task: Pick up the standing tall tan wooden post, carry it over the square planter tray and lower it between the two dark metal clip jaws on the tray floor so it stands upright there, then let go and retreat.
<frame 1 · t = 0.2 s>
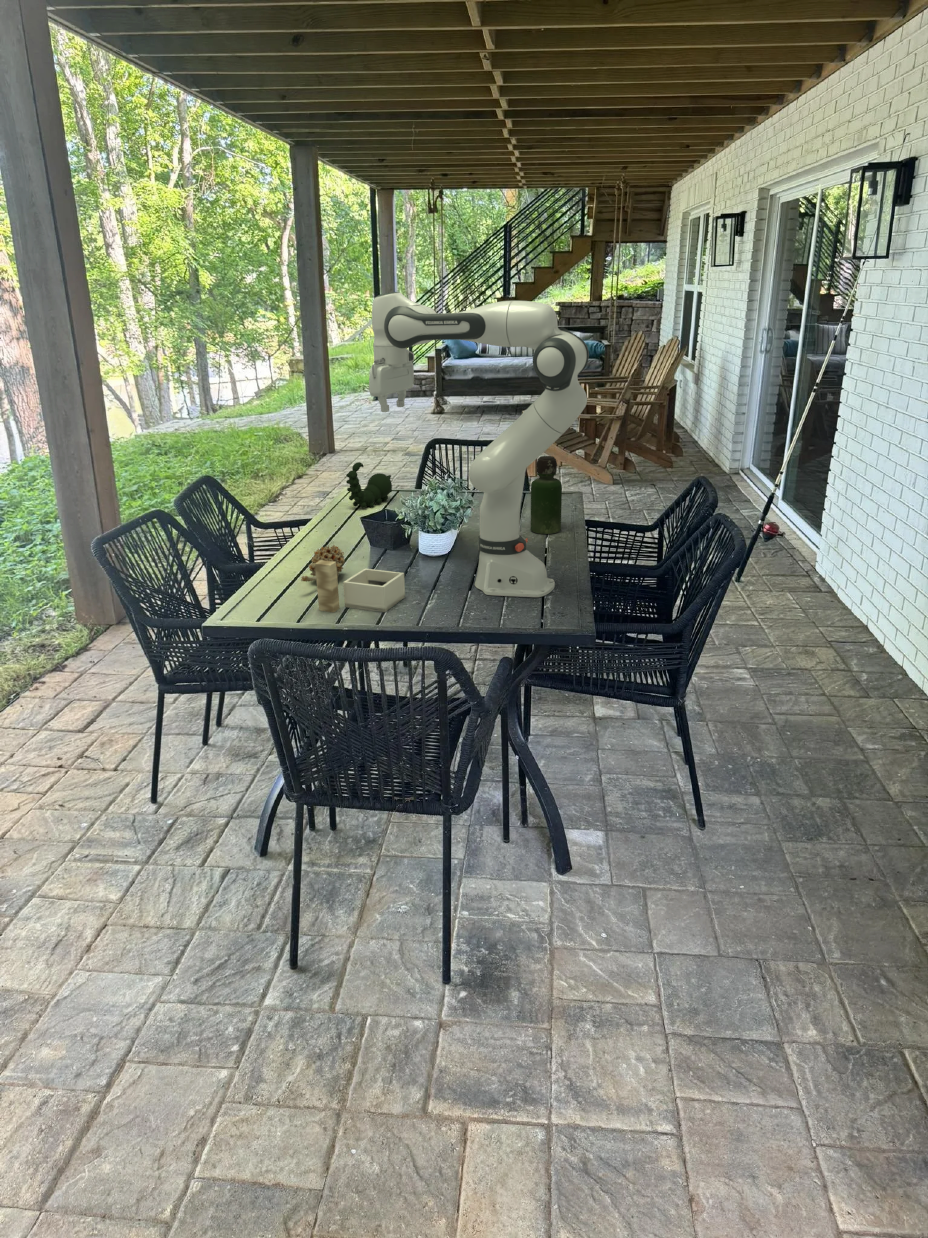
hand: (393, 409, 236), 48 cm above the table, tool pointing down, fingers open, 8 cm apart
square planter tray: (375, 602, 232), on the table
tall tan wooden post: (329, 609, 228), on the table
clip: (374, 591, 231), in the square planter tray, point 3 cm above the table
green bottle: (545, 531, 294), on the table
toy figurine: (372, 505, 332), on the table
pine cone: (323, 585, 247), on the table
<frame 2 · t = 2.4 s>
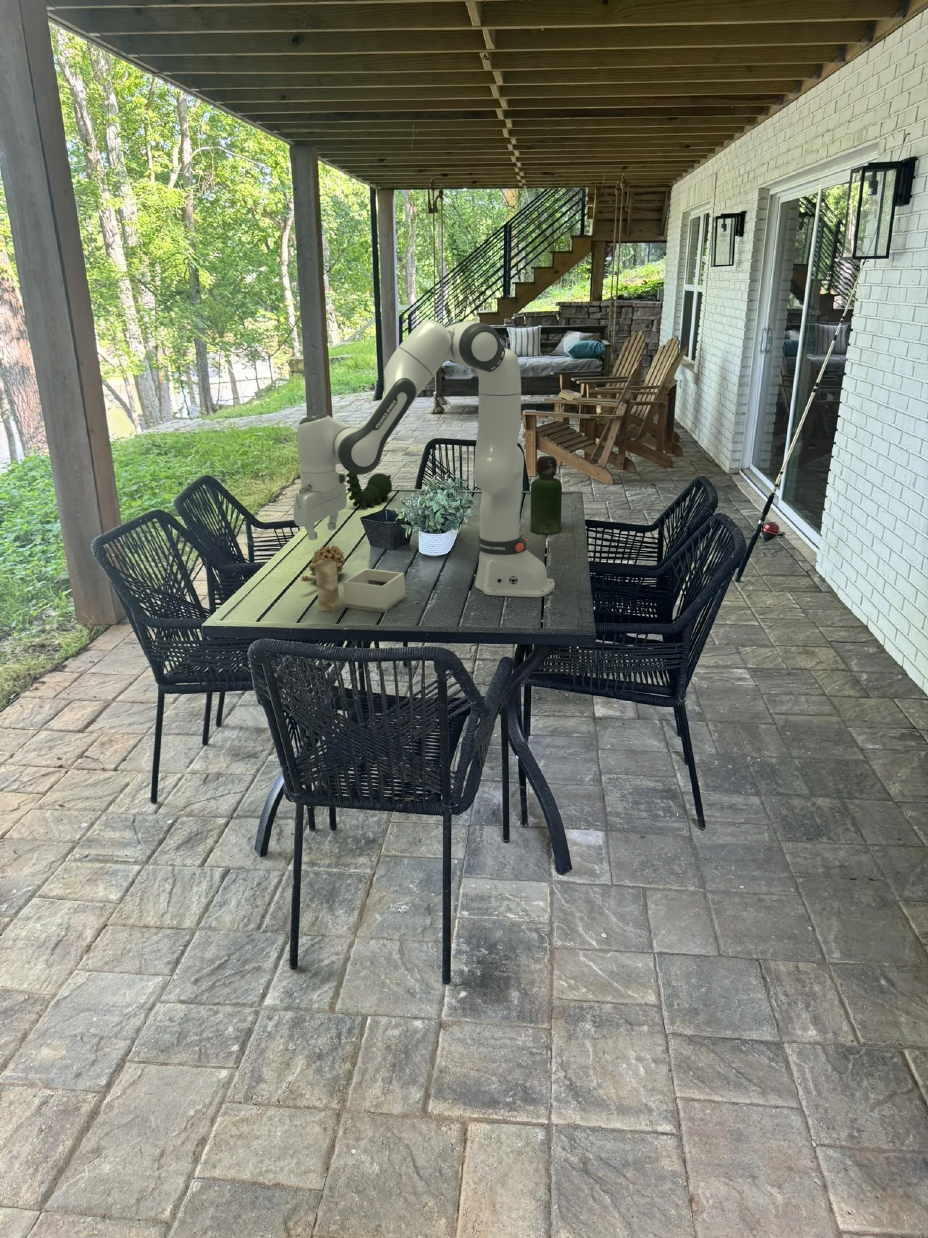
hand: (322, 534, 220), 21 cm above the table, tool pointing down, fingers open, 8 cm apart
nothing on the table moved.
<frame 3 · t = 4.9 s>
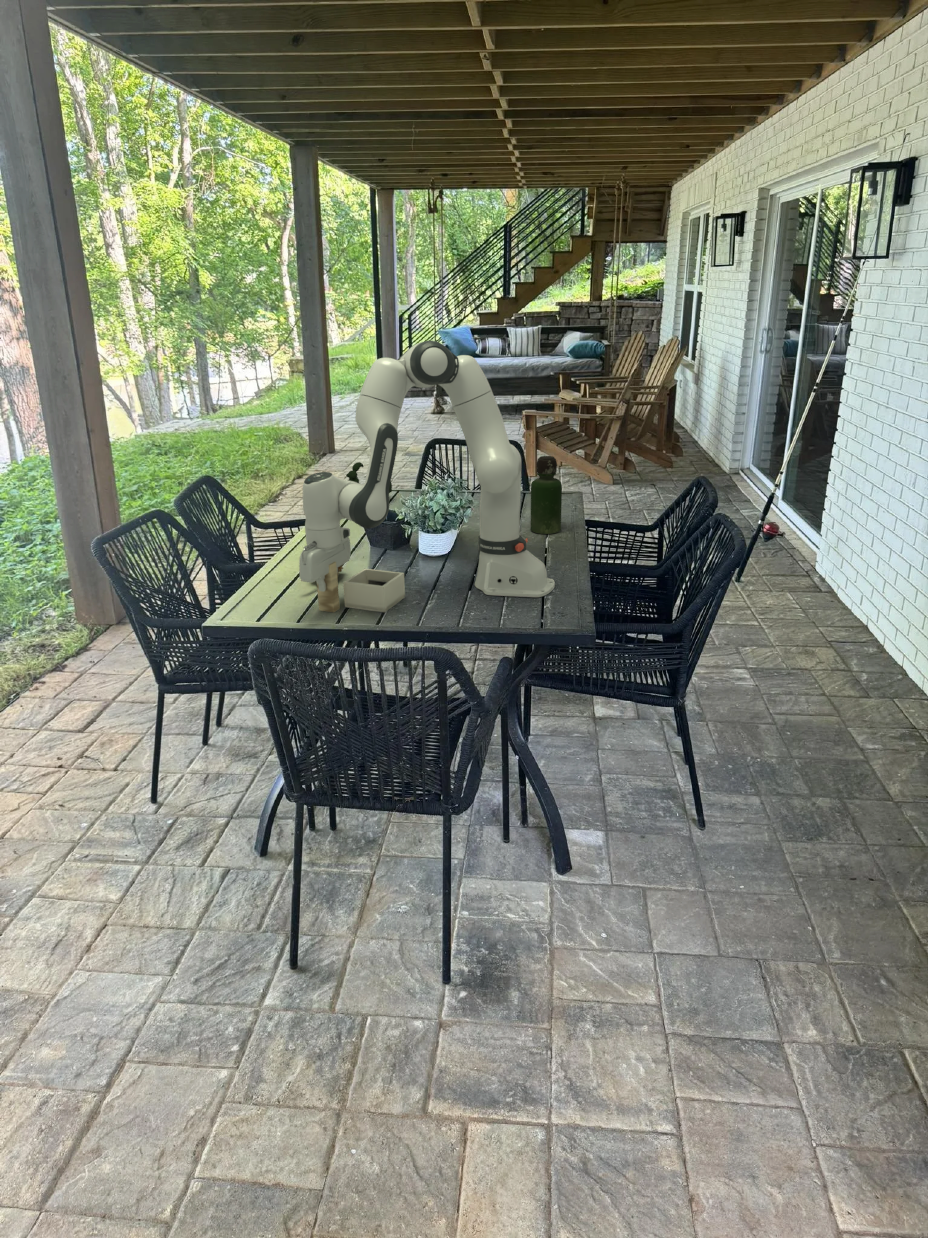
hand: (327, 587, 226), 6 cm above the table, tool pointing down, fingers closed on tall tan wooden post, 3 cm apart
tall tan wooden post: (329, 609, 228), on the table, touching gripper
everything else where it was.
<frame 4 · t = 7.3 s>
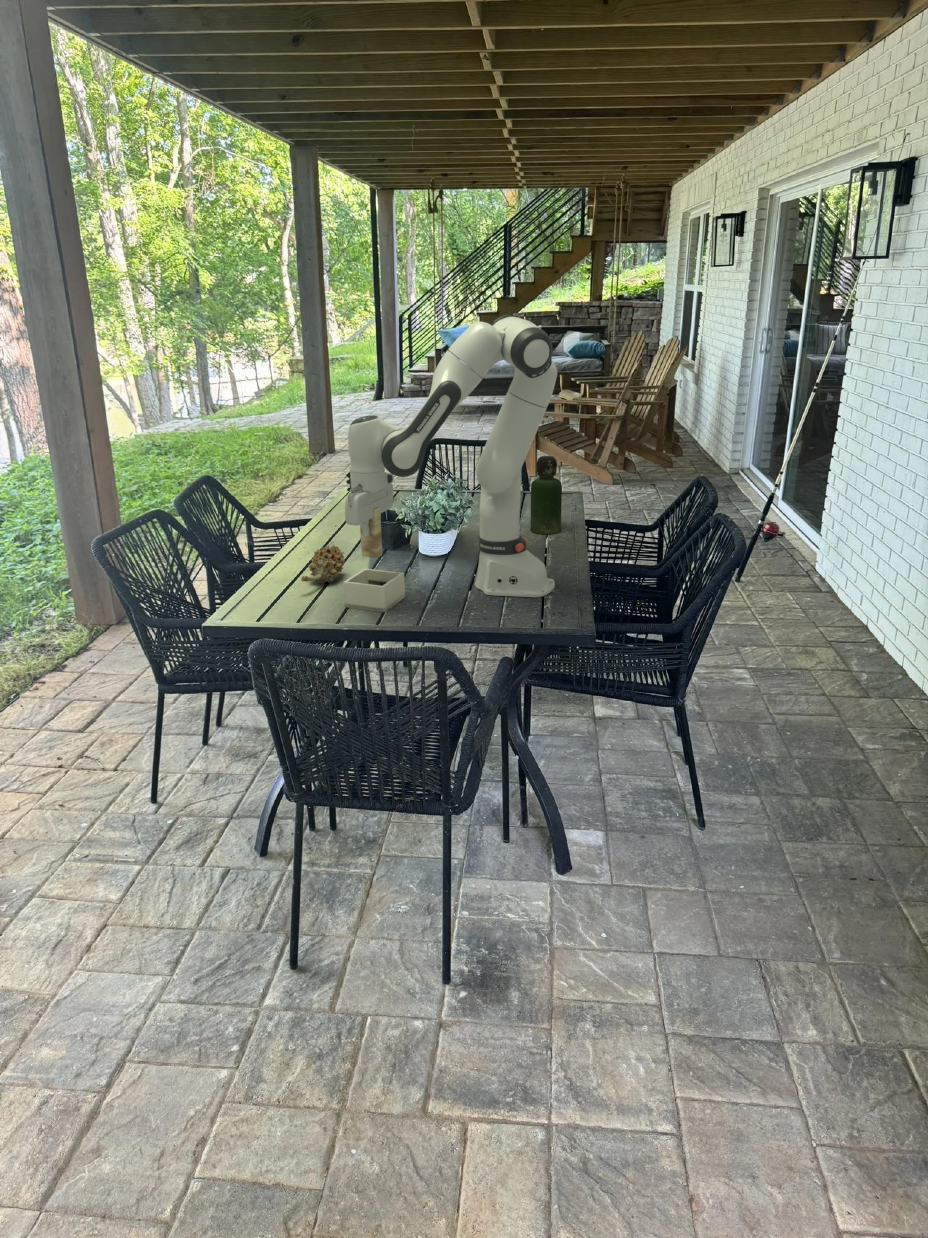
hand: (371, 533, 225), 19 cm above the table, tool pointing down, fingers closed on tall tan wooden post, 3 cm apart
tall tan wooden post: (372, 555, 228), point 13 cm above the table, touching gripper
everything else where it was.
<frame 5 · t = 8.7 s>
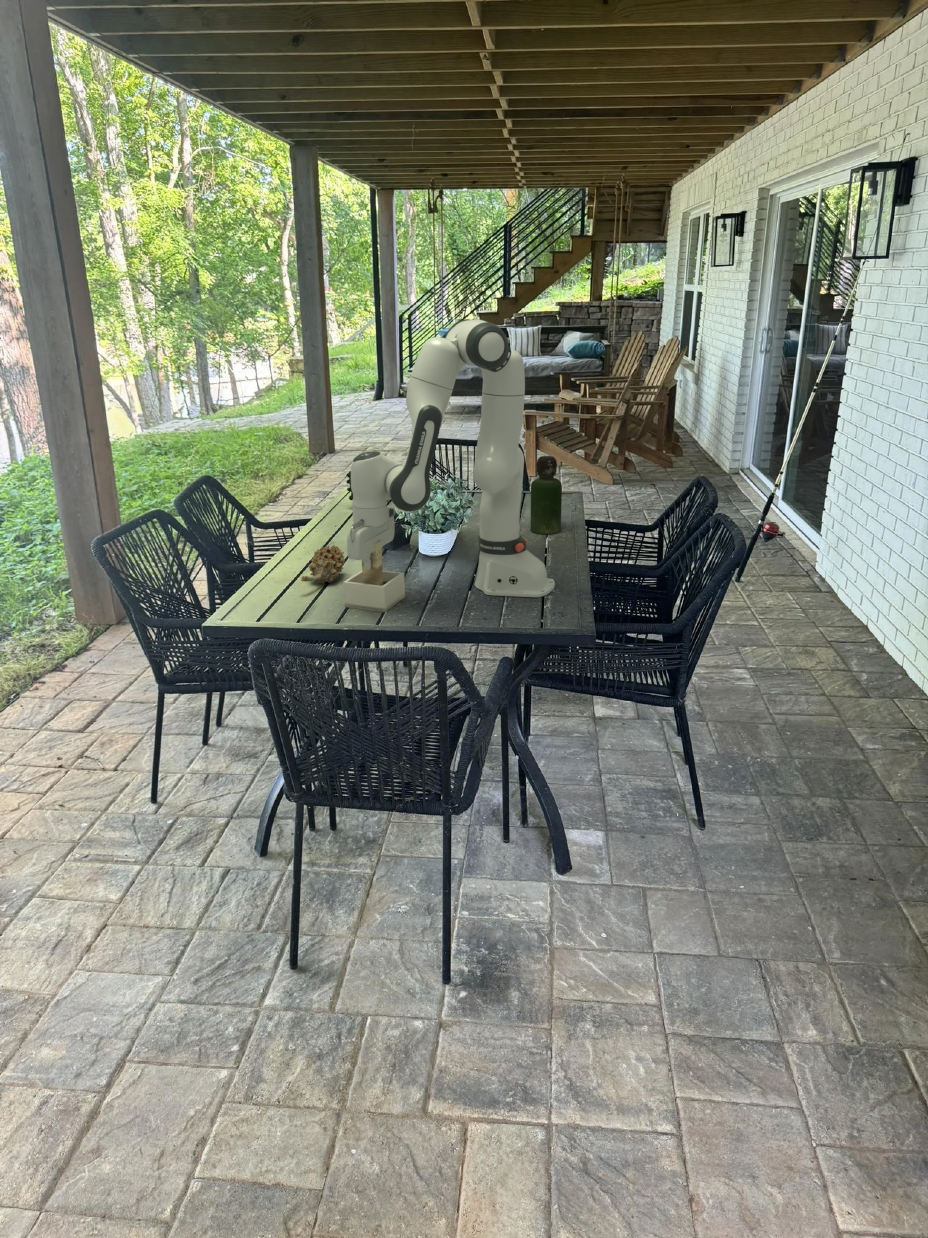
hand: (372, 566, 229), 10 cm above the table, tool pointing down, fingers closed on tall tan wooden post, 3 cm apart
tall tan wooden post: (373, 587, 231), point 4 cm above the table, touching gripper
everything else where it was.
when the fingers open (8 cm above the table, at t = 9.8 s): tall tan wooden post stays where it is, resting on clip.
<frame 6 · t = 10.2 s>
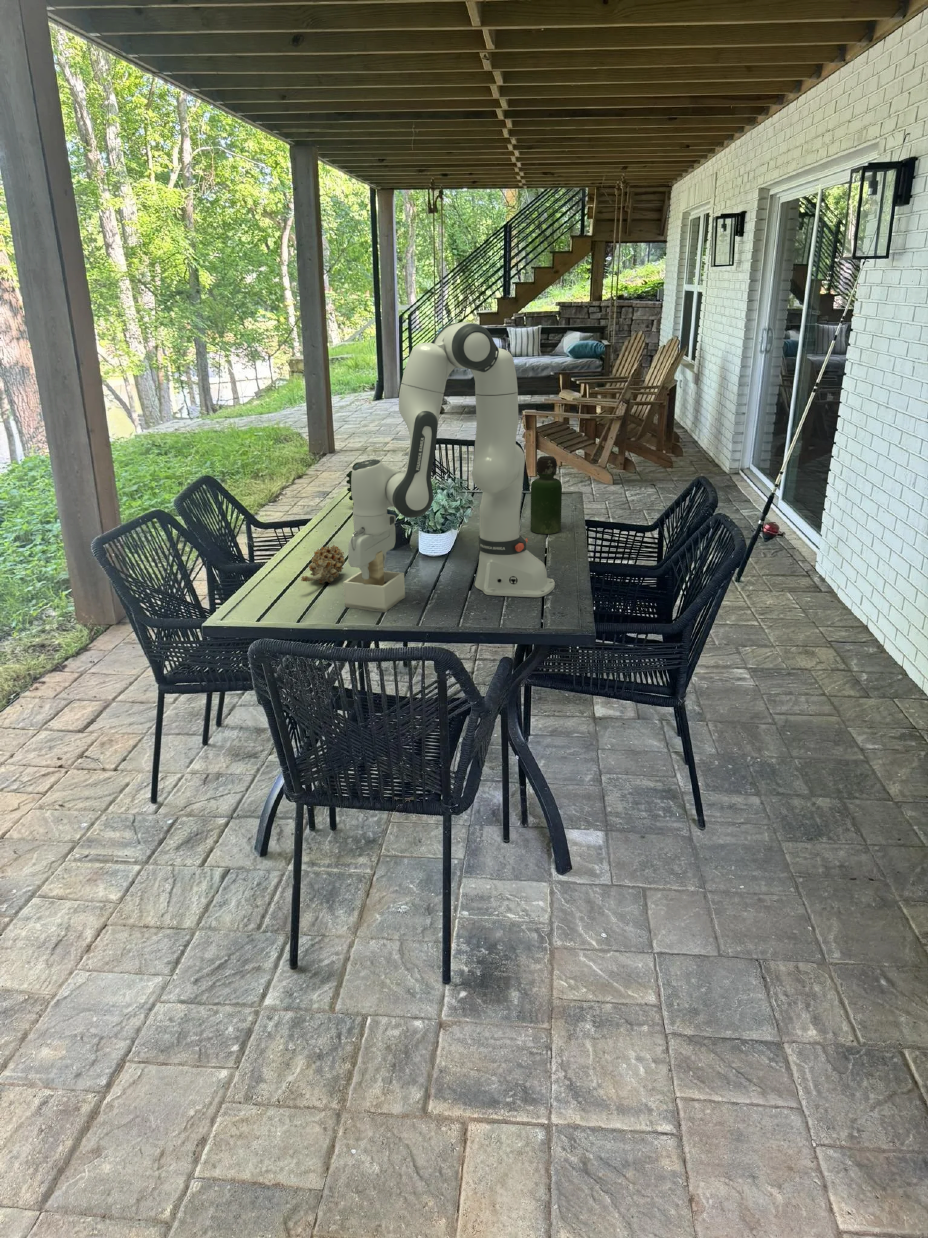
hand: (373, 573, 229), 8 cm above the table, tool pointing down, fingers open, 7 cm apart
tall tan wooden post: (375, 597, 232), point 1 cm above the table, touching clip
everything else where it was.
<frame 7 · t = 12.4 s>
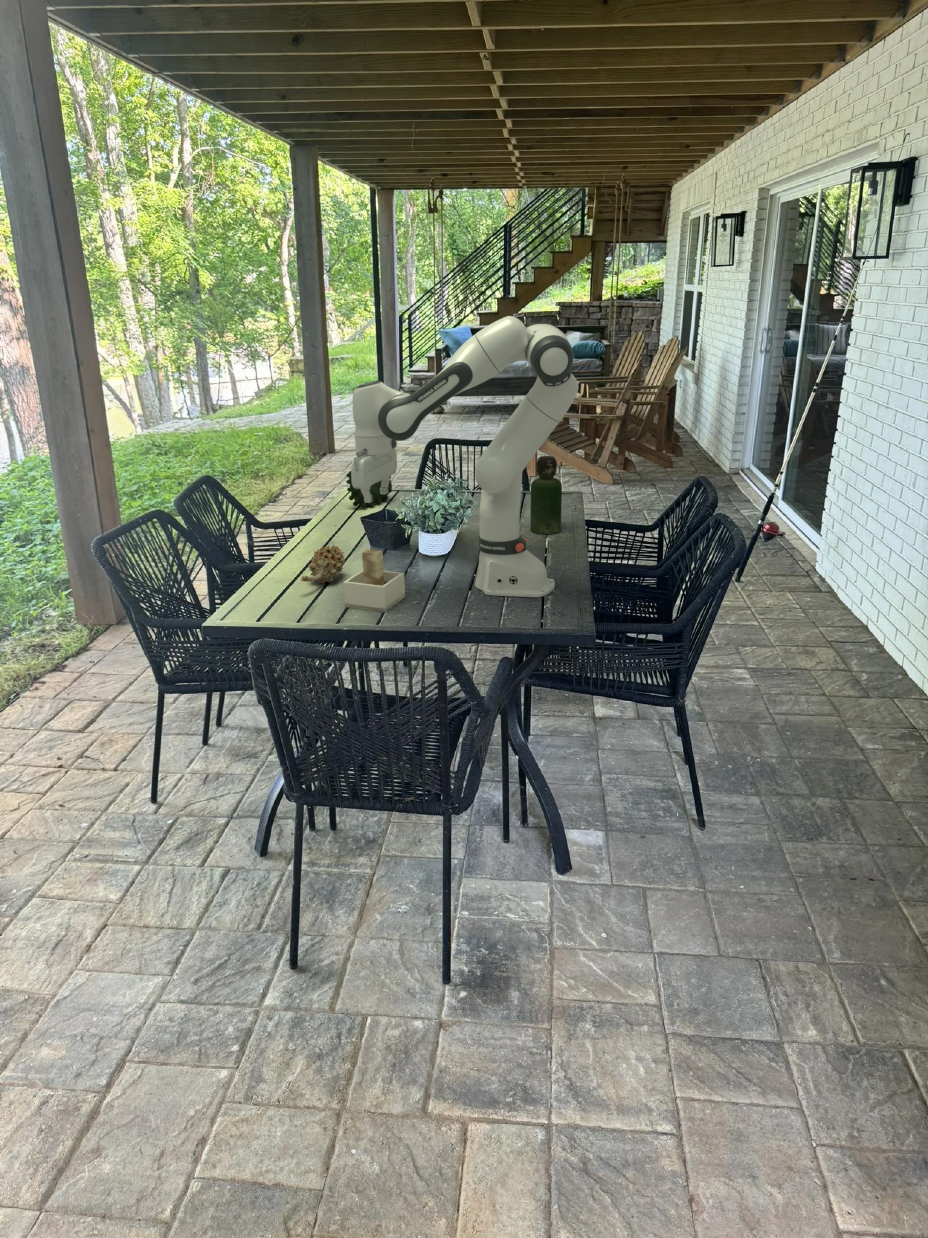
hand: (376, 497, 230), 27 cm above the table, tool pointing down, fingers open, 8 cm apart
nothing on the table moved.
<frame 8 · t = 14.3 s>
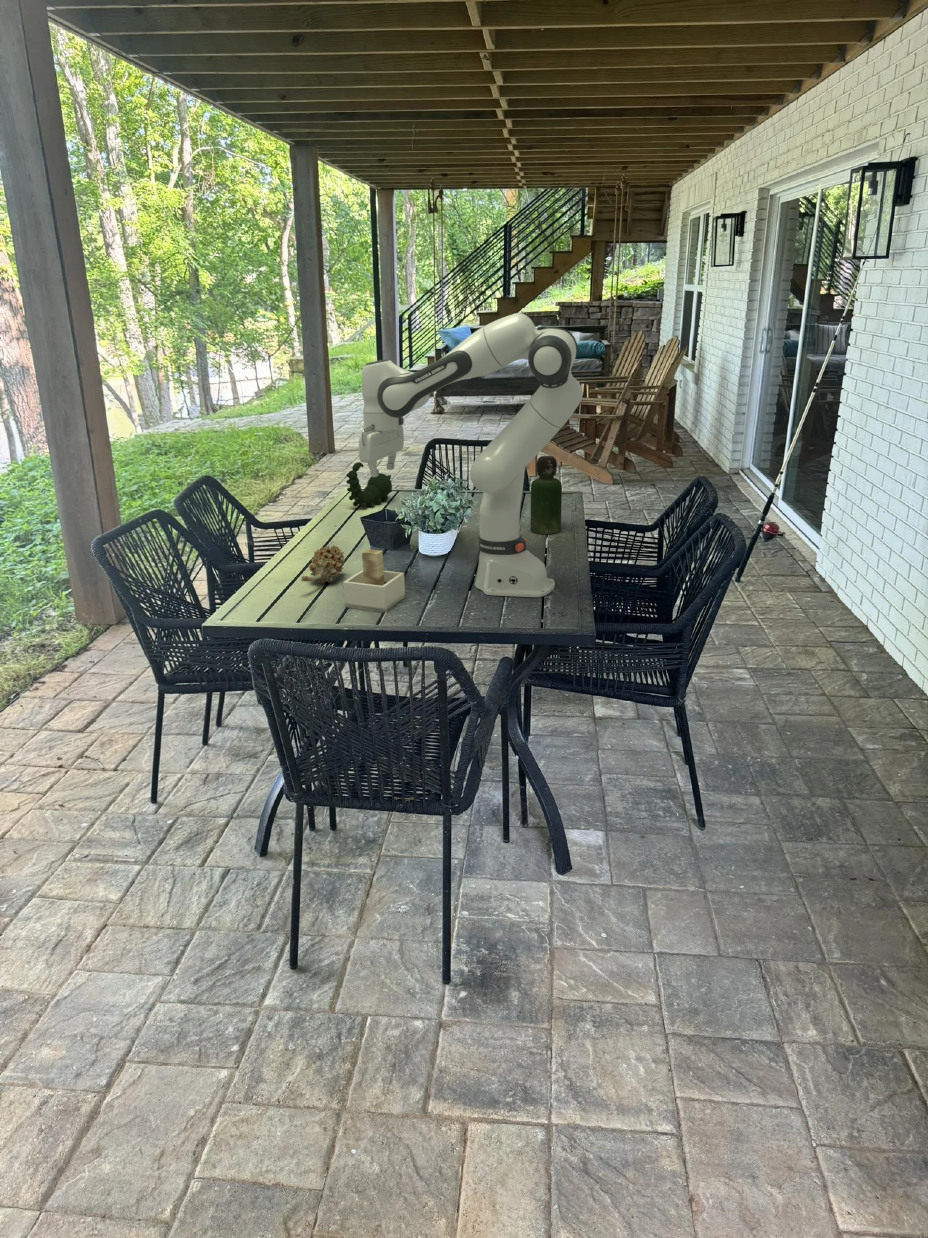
hand: (382, 472, 238), 31 cm above the table, tool pointing down, fingers open, 8 cm apart
nothing on the table moved.
at the end: tall tan wooden post 0.0 cm off-centre on the square planter tray, point 1.2 cm above the square planter tray's base; tall tan wooden post tilted 0°; the gripper is holding nothing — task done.
